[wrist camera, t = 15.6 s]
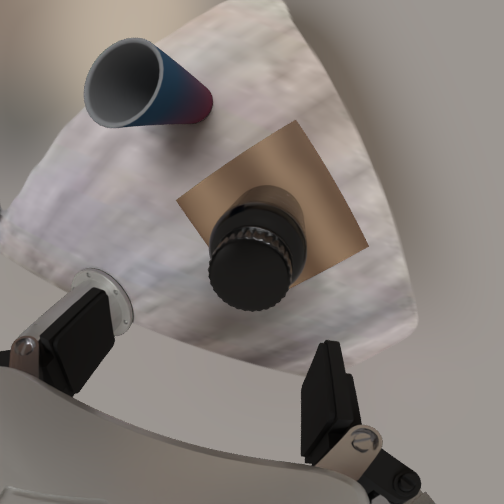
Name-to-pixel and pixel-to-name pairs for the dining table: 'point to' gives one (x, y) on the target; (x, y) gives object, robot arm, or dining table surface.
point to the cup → (143, 88)
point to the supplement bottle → (258, 248)
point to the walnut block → (292, 180)
